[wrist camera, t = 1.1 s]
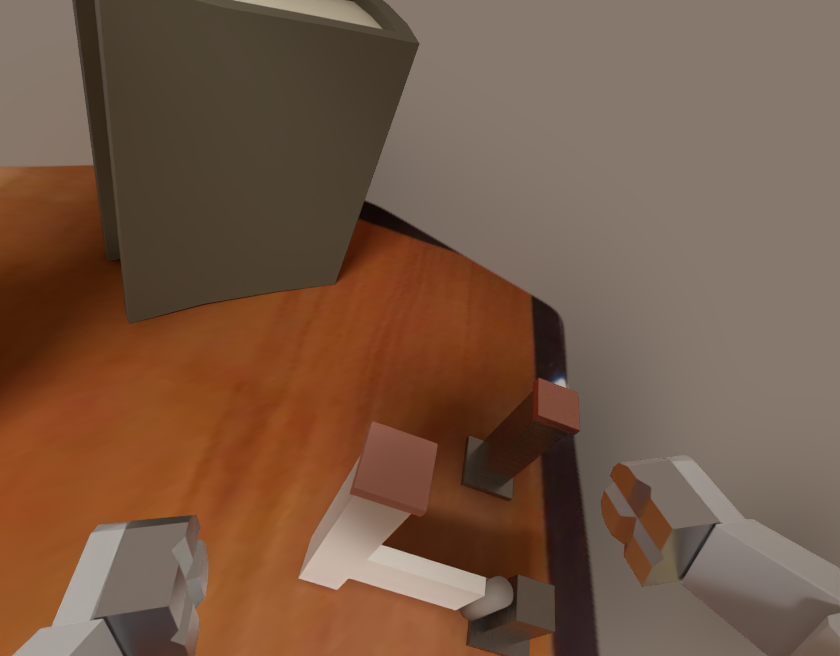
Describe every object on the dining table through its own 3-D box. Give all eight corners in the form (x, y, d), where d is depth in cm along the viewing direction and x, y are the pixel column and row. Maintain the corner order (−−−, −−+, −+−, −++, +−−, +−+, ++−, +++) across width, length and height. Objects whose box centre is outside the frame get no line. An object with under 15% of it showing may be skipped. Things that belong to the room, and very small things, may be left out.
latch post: (461, 484, 45) (529, 419, 36) (466, 438, 49) (530, 368, 40) (509, 500, 46) (588, 441, 37) (511, 454, 49) (584, 388, 40)
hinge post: (466, 645, 37) (502, 632, 33) (472, 575, 41) (506, 556, 36) (525, 662, 38) (568, 652, 33) (526, 592, 41) (565, 575, 37)
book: (307, 231, 60) (373, -21, 41) (339, 286, 56) (430, 37, 37) (105, 251, 48) (59, -101, 28) (129, 323, 44) (96, -25, 24)
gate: (292, 581, 35) (353, 487, 22) (309, 532, 38) (372, 420, 25) (478, 636, 37) (634, 579, 24) (482, 585, 40) (626, 509, 27)
